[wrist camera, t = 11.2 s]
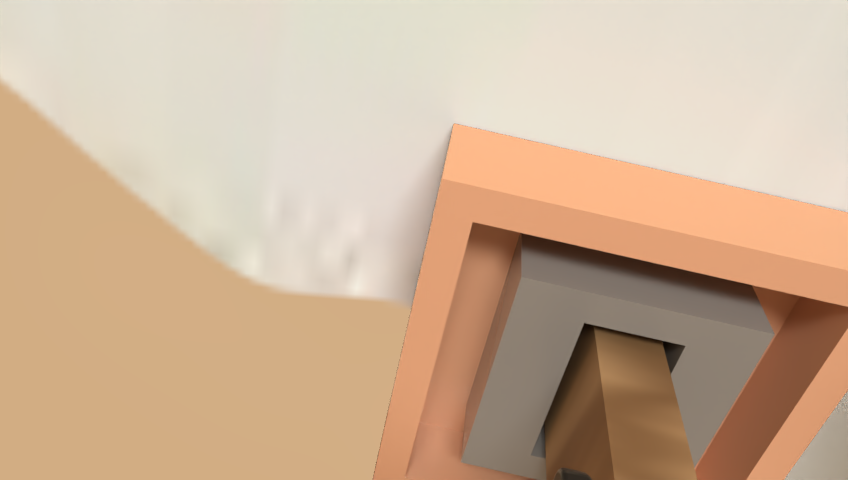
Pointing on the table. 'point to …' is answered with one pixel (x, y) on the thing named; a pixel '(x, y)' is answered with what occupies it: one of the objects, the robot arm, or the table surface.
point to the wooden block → (617, 412)
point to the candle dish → (613, 310)
